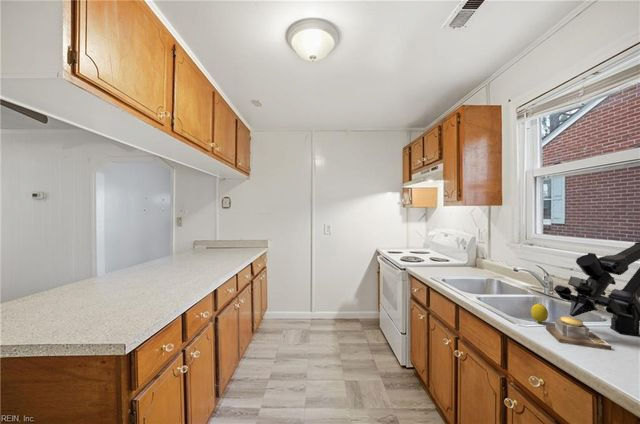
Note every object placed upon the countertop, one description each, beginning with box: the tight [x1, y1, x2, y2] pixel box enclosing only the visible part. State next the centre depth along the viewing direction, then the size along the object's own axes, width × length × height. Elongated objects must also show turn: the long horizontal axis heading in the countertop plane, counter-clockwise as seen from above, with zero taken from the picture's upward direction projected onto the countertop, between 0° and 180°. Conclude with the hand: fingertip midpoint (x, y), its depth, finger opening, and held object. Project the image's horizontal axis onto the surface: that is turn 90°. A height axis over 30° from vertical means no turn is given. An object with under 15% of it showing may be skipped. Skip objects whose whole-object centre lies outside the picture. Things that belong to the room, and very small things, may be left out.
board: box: [545, 318, 612, 351], centre depth 102 cm, size 14×12×5 cm
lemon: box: [530, 302, 549, 324], centre depth 116 cm, size 6×6×8 cm
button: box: [560, 316, 584, 327], centre depth 103 cm, size 6×6×5 cm
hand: (571, 315), depth 103 cm, fingers closed
